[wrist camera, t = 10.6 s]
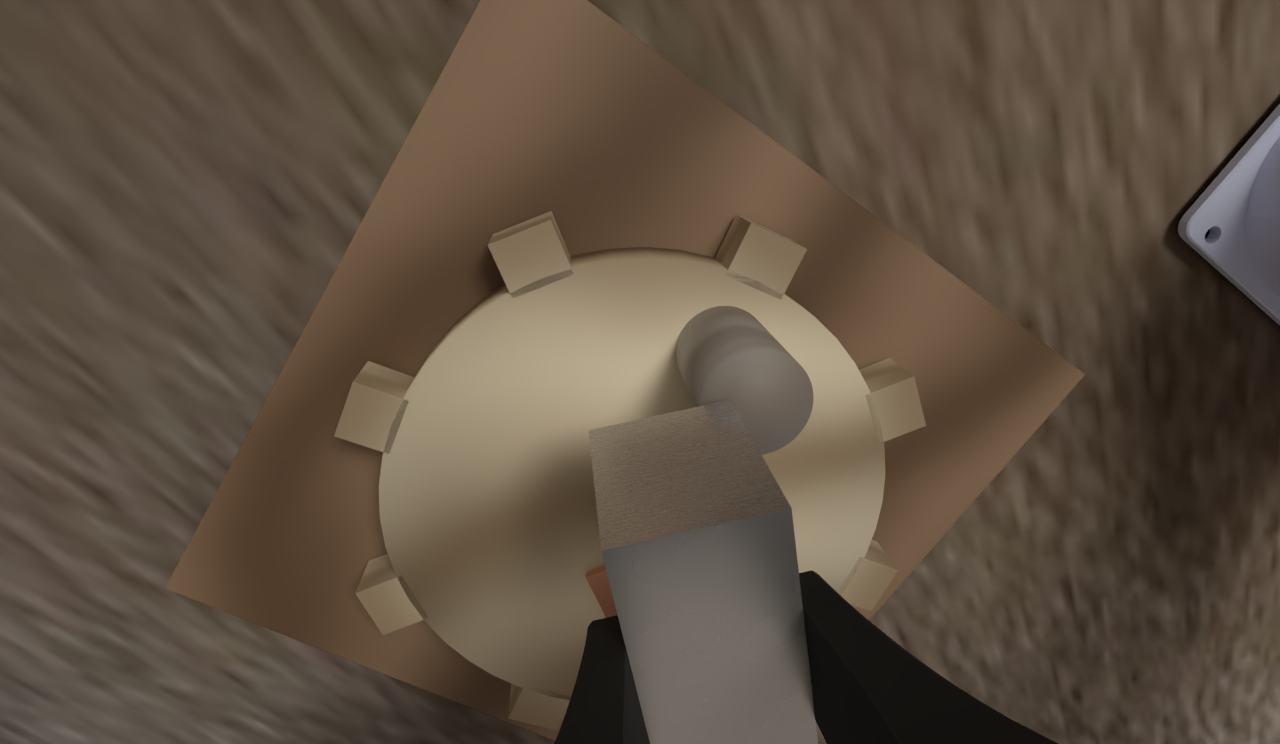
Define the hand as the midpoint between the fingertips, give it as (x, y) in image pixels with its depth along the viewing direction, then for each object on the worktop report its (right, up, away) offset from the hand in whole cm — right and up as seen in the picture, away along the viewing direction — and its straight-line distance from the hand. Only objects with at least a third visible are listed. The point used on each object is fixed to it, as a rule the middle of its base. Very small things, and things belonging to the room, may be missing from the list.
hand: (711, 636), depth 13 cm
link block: (0, +2, +2) cm, 3 cm away
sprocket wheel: (-1, +2, +8) cm, 8 cm away
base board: (-2, +2, +9) cm, 9 cm away
